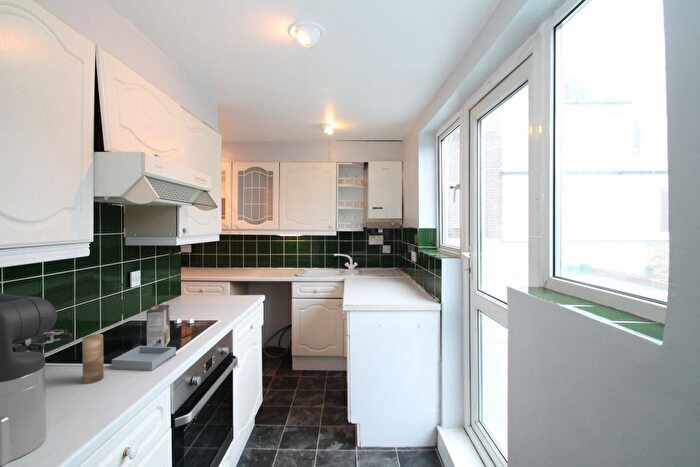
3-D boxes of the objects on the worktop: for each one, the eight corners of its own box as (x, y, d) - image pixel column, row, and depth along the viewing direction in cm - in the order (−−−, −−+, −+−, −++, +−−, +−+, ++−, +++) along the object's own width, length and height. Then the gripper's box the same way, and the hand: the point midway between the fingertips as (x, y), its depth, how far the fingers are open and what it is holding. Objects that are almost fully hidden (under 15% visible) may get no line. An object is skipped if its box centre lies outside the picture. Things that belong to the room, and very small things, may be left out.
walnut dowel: (93, 384, 90) (92, 340, 90) (78, 383, 90) (77, 339, 90) (107, 376, 95) (107, 334, 95) (93, 375, 95) (93, 333, 95)
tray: (152, 370, 98) (151, 361, 98) (111, 368, 100) (111, 359, 100) (176, 355, 110) (175, 347, 110) (139, 353, 112) (139, 345, 112)
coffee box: (152, 342, 123) (152, 305, 122) (170, 340, 125) (169, 303, 125) (146, 351, 114) (145, 311, 114) (164, 348, 116) (164, 309, 116)
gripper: (-17, 336, 88) (31, 339, 86) (38, 321, 102) (80, 323, 100) (-16, 360, 88) (32, 363, 86) (38, 342, 102) (80, 344, 101)
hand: (57, 342), depth 93 cm, fingers open, 8 cm apart
